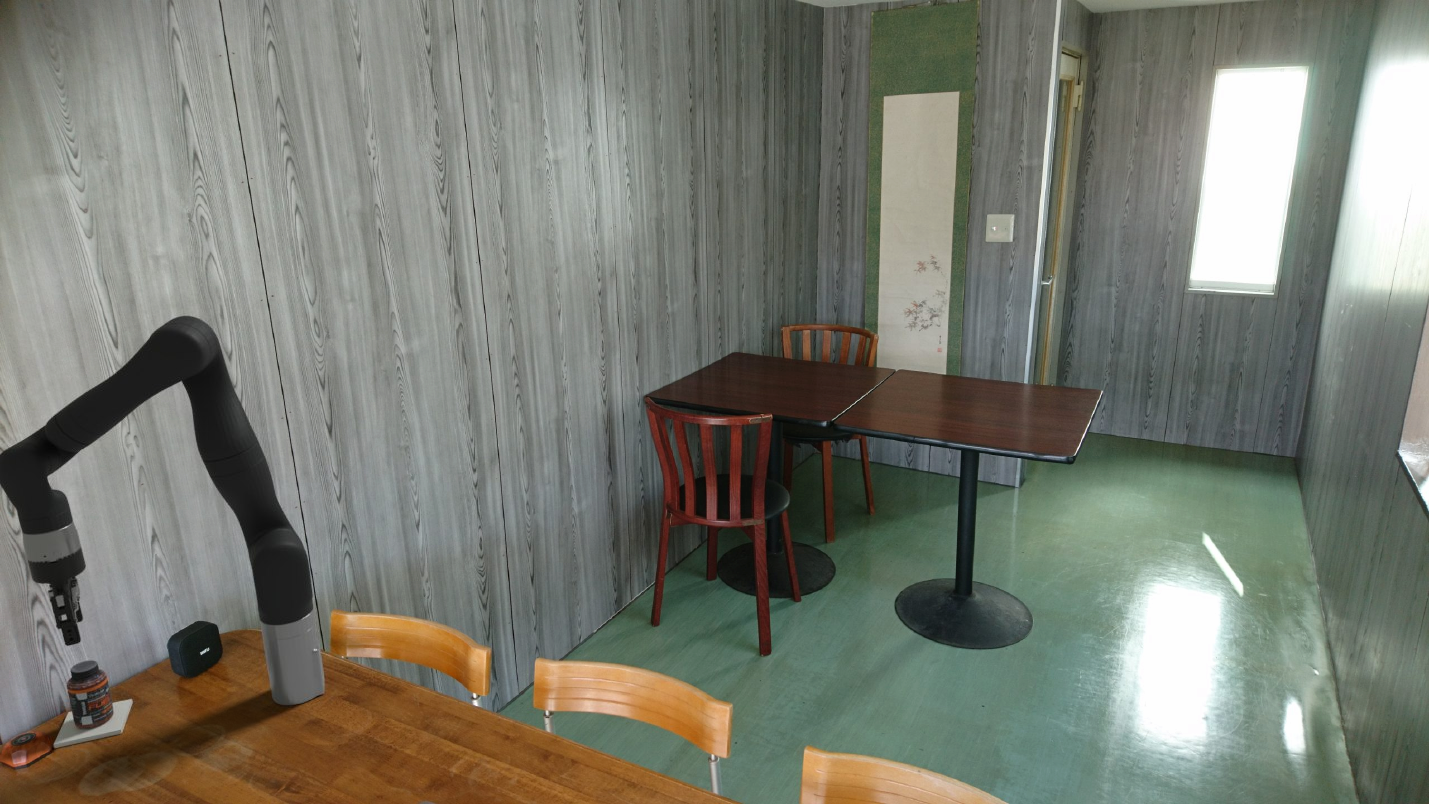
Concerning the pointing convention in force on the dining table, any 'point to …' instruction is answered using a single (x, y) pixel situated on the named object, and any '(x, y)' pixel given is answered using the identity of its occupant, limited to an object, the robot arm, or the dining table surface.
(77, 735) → the coaster
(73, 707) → the supplement bottle
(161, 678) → the dining table surface
